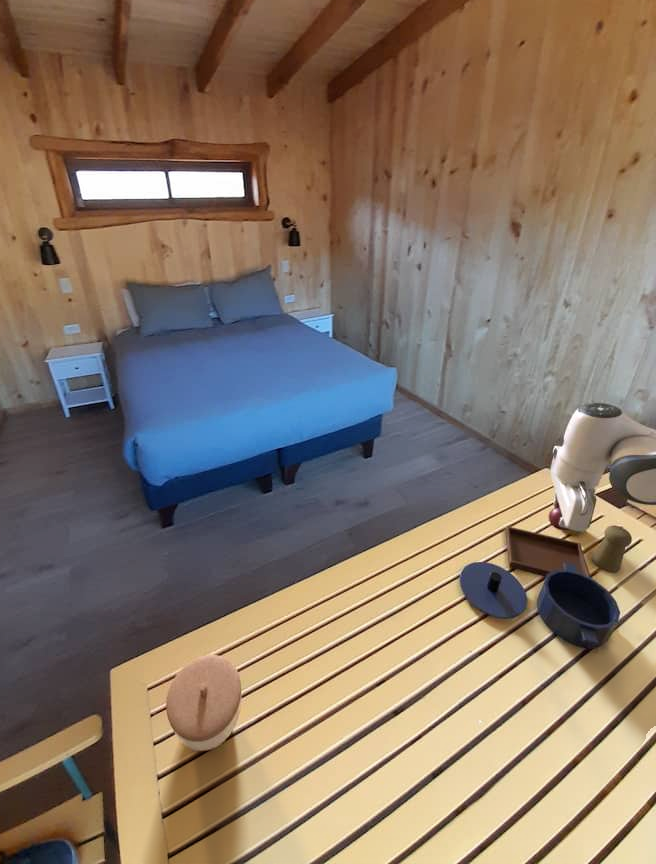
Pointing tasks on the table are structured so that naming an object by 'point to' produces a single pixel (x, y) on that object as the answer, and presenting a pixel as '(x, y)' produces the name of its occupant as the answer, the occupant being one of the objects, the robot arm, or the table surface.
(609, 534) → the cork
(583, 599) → the pot
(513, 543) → the tray
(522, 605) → the lid
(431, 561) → the table surface
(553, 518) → the beet
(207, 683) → the lidded bowl
